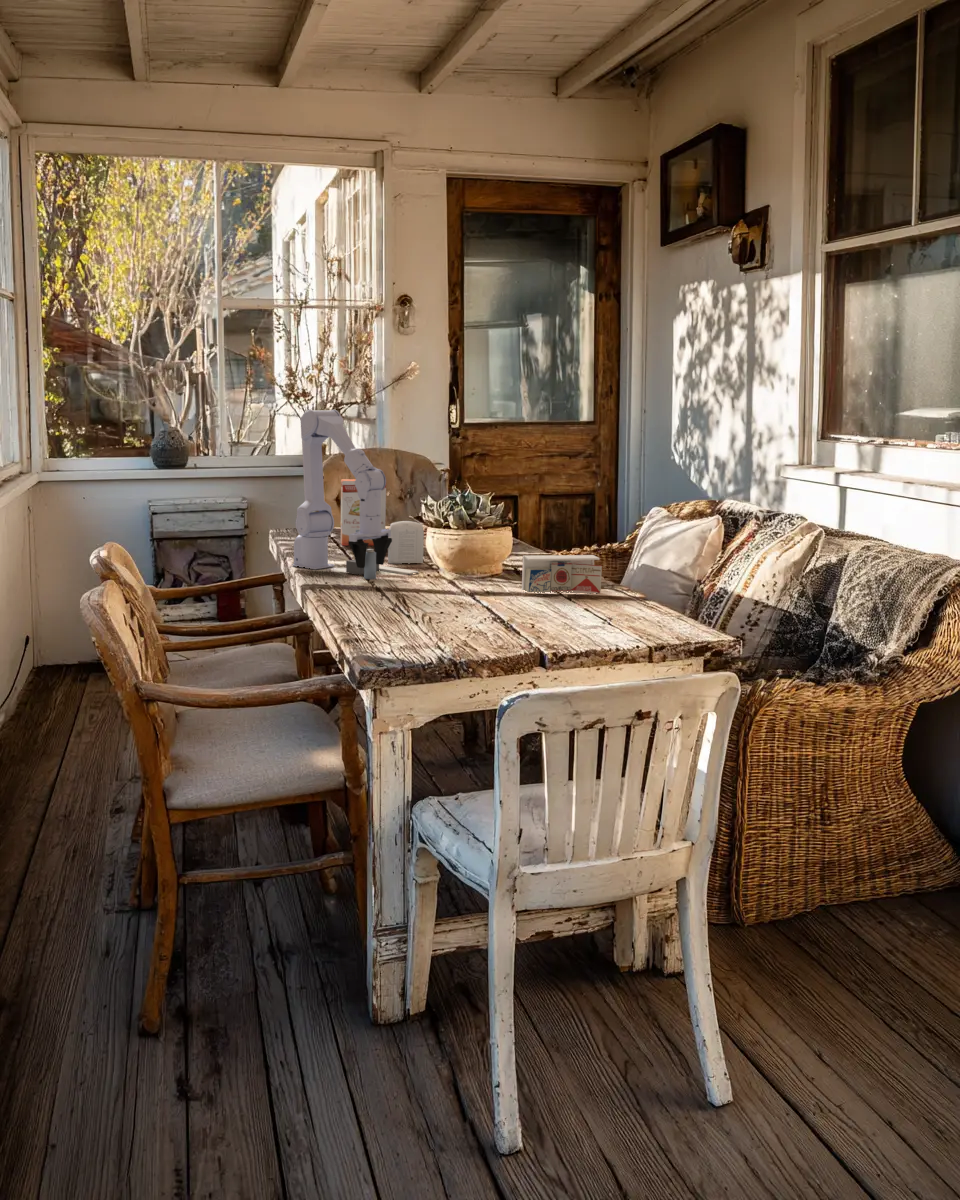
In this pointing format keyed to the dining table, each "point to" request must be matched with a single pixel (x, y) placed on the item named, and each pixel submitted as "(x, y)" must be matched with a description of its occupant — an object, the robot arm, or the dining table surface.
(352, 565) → the box
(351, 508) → the cracker box
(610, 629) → the dining table surface
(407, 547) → the light grey rounded block
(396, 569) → the batten
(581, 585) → the cigarette display
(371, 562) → the peg
